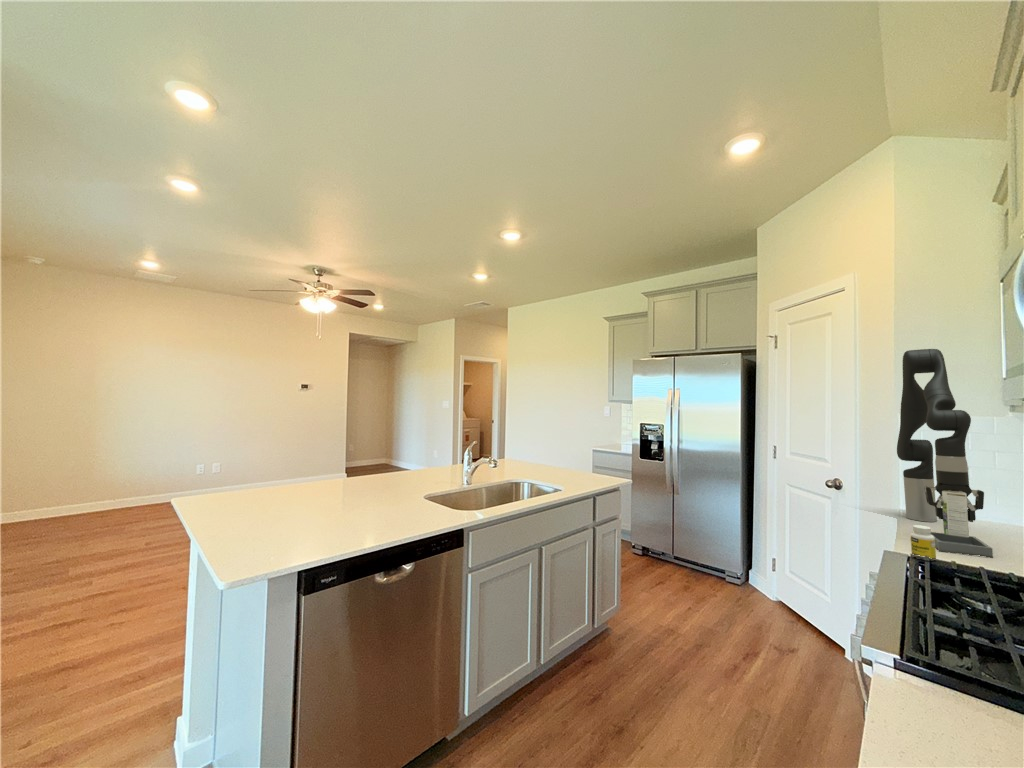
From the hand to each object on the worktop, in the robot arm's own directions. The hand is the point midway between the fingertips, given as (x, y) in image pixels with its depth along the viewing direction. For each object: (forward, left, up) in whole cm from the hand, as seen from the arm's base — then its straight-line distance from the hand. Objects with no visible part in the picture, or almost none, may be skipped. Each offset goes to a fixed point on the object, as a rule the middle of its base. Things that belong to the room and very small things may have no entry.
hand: (955, 520), depth 139 cm
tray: (0, 0, -9) cm, 9 cm away
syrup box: (0, 0, -5) cm, 5 cm away
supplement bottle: (+19, -12, -9) cm, 24 cm away
